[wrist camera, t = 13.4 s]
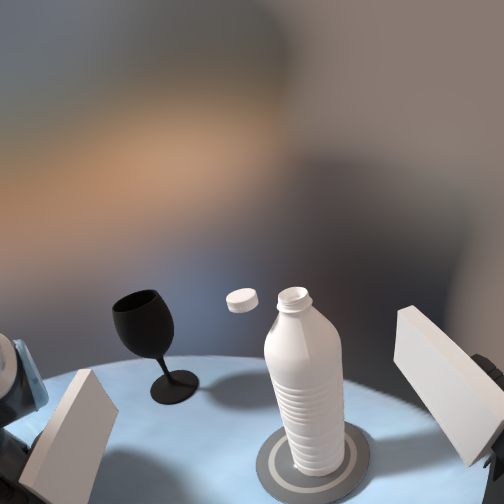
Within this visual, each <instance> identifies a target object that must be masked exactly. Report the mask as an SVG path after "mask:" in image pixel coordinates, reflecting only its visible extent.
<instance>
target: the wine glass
mask: <svg viewBox="0 0 504 504" xmlns="http://www.w3.org/2000/svg"><path fill="white" fill-rule="evenodd" d="M112 310H113V319H114V323H115V327H116V330H117V333H118V335H119V337H120V339H121V341H122V342H123V344H124V345H125V346H126V347H127V348H128V349H129V350H130V351H131V352H133V353H134V354H136V355H138V356H141V357H144V358H150V359H156V360H157V361H158V363H159V364H160V366H161V368H162V370H163V372H164V375H162V376H161V377H159V378H158V379H157V380H156V381H155V382H154V383H153V385H152V387H151V390H150V393H151V397H152V398H153V400H155V401H156V402H158V403H160V404H175V403H179V402H181V401H183V400H185V399H187V398H188V397H190V396H191V395H192V394H193V393H194V391H195V390H196V388H197V385H198V380H197V377H196V376H195V374H193V373H192V372H190V371H186V370H176V371H172V372H169V371H168V369H167V367H166V365H165V362H164V359H163V355H164V354H165V353H166V351H167V350H168V348H169V347H170V345H171V343H172V340H173V336H174V324H173V319H172V316H171V313H170V311H169V309H168V307H167V305H166V304H165V302H164V300H163V299H162V297H161V296H160V295H159V294H158V292H157V291H156V290H143V291H138V292H135V293H132V294H130V295H127V296H126V297H124V298H122V299H120V300H119V301H117V302H116V303H115V304H114V306H113V308H112Z"/></svg>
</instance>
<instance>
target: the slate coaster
mask: <svg viewBox="0 0 504 504" xmlns="http://www.w3.org/2000/svg"><path fill="white" fill-rule="evenodd" d="M344 434H345V435H344V449H345V451H344V459H343V462H342V463H341V465H340V466H339V467H338V468H337V469H336V470H335V471H334V472H332V473H329V474H328V475H325V476H319V477H316V476H308V475H305V474H303V473H302V472H301V471H299V470H298V469H297V467H296V465H295V463H294V460H293V455H292V452H291V448H290V445H289V442H288V438H287V435H286V431H285V428H284V426H283V427H282V428H280V429H278V430H277V431H276V432H274V433H273V434H272V435H271V436H270V437H269V438H268V439H267V440H266V441H265V442H264V444H263V445H262V447H261V449H260V451H259V453H258V456H257V460H256V472H257V476H258V478H259V481H260V482H261V484H262V486H263V488H264V489H265V490H266V491H267V493H269V494H270V495H271V496H272V497H273V498H275V499H276V500H278V501H280V502H282V503H285V504H330V503H333V502H335V501H337V500H339V499H341V498H343V497H344V496H346V495H347V494H349V493H350V492H351V491H353V490H354V489H355V488H356V487H357V486H358V484H359V483H360V482H361V480H362V479H363V477H364V475H365V474H366V471H367V468H368V464H369V458H370V451H369V445H368V443H367V440H366V438H365V437H364V435H363V434H362V433H361V431H359V430H358V429H357V428H356V427H355V426H353V425H352V424H350V423H348V422H346V421H344Z"/></svg>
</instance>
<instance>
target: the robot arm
mask: <svg viewBox="0 0 504 504" xmlns="http://www.w3.org/2000/svg"><path fill="white" fill-rule="evenodd" d="M394 362H395V363H396V365H397V366H398V367H399V369H400V370H401V371H402V373H403V374H404V376H405V377H406V378H407V380H408V381H409V382H410V384H411V385H412V386H413V388H414V389H415V391H416V392H417V393H418V395H419V396H420V398H421V399H422V401H423V402H424V403H425V405H426V406H427V408H428V409H429V410H430V412H431V413H432V415H433V416H434V418H435V419H436V421H437V422H438V423H439V425H440V426H441V428H442V429H443V431H444V432H445V434H446V435H447V437H448V438H449V440H450V441H451V443H452V444H453V446H454V447H455V449H456V450H457V452H458V454H459V455H460V457H461V458H462V460H463V461H464V463H465V464H466V466H467V468H469V467H470V466H472V465H473V464H474V463H476V462H477V461H479V460H480V459H481V458H483V457H484V456H485V455H486V453H487V452H488V451H489V449H490V448H492V450H493V451H494V452H493V453H492V455H491V456H490V457H489V458H488V460H487V461H486V462H485V464H484V467H483V468H486V467H487V466H488V465H489V463H490V462H491V464H490V467H489V468H490V470H489V475H488V480H487V485H486V490H485V494H484V498H483V502H482V504H504V375H503V373H502V372H501V371H500V370H499V369H497V368H496V366H495V365H494V364H493V363H491V361H490V360H488V359H487V358H485V357H483V356H481V355H478V354H475V355H473V356H472V357H469V356H468V355H467V354H466V353H465V352H463V350H461V349H460V348H459V347H458V346H457V345H456V344H455V343H454V342H453V341H452V340H451V339H450V338H449V337H448V336H447V335H446V334H444V333H443V332H442V331H441V330H440V329H439V328H438V327H437V326H435V324H433V323H432V322H431V321H430V320H429V319H428V318H427V317H426V316H424V315H423V314H422V313H421V312H420V311H419V310H418V309H417V308H415V307H414V306H410V307H407V308H404V309H402V310H399V311H398V321H397V335H396V345H395V354H394ZM48 401H49V396H48V393H47V390H46V388H45V386H44V384H43V381H42V379H41V377H40V375H39V373H38V370H37V369H36V366H35V364H34V362H33V359H32V357H31V355H30V353H29V351H28V349H27V347H26V345H25V343H24V342H23V340H21V339H18V340H13V342H12V343H11V342H10V341H9V340H8V339H7V338H6V337H5V336H4V335H2V334H0V504H88V501H89V497H90V494H91V491H92V487H93V484H94V481H95V478H96V475H97V471H98V468H99V465H100V462H101V459H102V456H103V453H104V450H105V447H106V445H107V442H108V439H109V436H110V433H111V431H112V428H113V425H114V422H115V420H116V417H117V414H118V412H119V411H118V409H117V408H116V406H115V405H114V403H113V402H112V400H111V399H110V397H109V396H108V394H107V393H106V391H105V390H104V388H103V387H102V385H101V383H100V382H99V380H98V379H97V377H96V375H95V374H94V372H93V370H92V369H79V371H78V372H77V374H76V376H75V377H74V379H73V380H72V382H71V384H70V385H69V387H68V389H67V390H66V392H65V394H64V395H63V397H62V399H61V400H60V402H59V404H58V406H57V407H56V409H55V411H54V413H53V414H52V416H51V418H50V420H49V422H48V423H47V425H46V427H45V429H44V430H43V431H42V432H41V433H40V434H39V435H38V436H37V437H36V438H35V440H34V442H33V444H32V446H31V448H30V447H29V446H28V445H27V444H26V443H25V442H23V441H22V440H20V439H19V438H17V437H16V436H14V435H13V434H11V433H10V432H8V431H7V430H5V429H4V428H3V427H5V426H7V425H9V424H11V423H13V422H15V421H17V420H19V419H21V418H23V417H25V416H27V415H28V414H30V413H32V412H34V411H36V412H37V411H38V410H39V409H40V408H41V407H43V406H45V405H46V404H47V403H48Z"/></svg>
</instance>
